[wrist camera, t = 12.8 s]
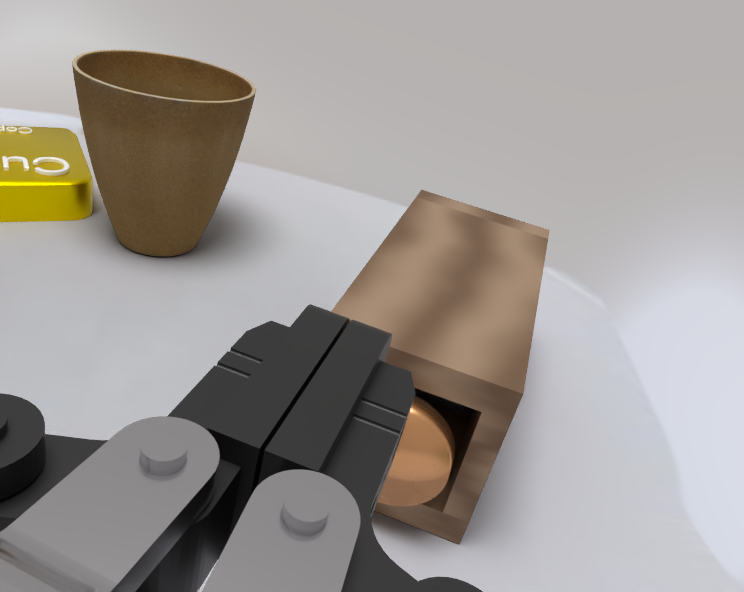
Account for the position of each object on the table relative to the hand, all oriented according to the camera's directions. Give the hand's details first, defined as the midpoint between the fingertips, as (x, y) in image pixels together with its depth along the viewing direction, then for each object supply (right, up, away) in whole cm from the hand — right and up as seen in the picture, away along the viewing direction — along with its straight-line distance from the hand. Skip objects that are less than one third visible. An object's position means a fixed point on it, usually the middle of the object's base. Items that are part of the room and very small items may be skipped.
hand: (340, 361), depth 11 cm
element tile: (-37, +12, +55) cm, 67 cm away
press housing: (+4, -7, +40) cm, 40 cm away
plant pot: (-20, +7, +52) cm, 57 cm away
